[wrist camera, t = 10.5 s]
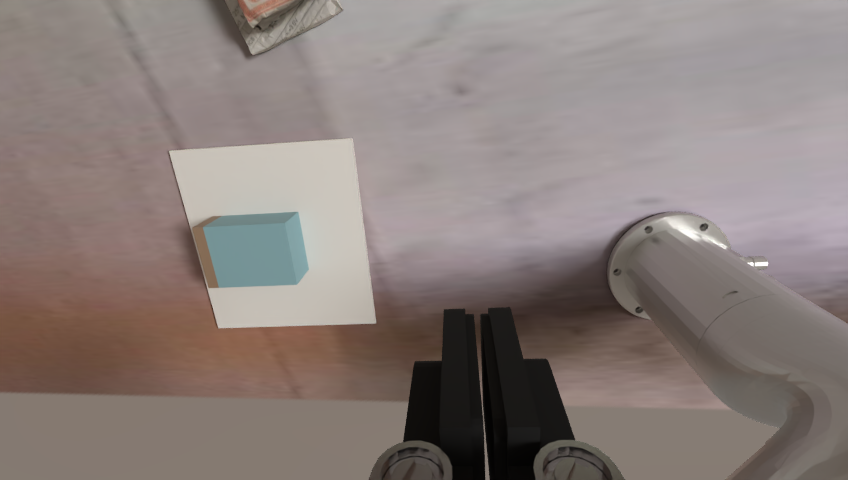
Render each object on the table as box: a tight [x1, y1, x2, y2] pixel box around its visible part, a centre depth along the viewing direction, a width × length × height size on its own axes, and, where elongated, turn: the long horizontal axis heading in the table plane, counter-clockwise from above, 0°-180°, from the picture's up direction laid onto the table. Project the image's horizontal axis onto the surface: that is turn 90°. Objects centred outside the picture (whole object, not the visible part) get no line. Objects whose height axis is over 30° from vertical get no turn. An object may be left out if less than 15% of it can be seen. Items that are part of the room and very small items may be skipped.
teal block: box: [192, 212, 309, 288], centre depth 46 cm, size 4×7×10 cm
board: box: [169, 138, 376, 328], centre depth 48 cm, size 20×22×1 cm
